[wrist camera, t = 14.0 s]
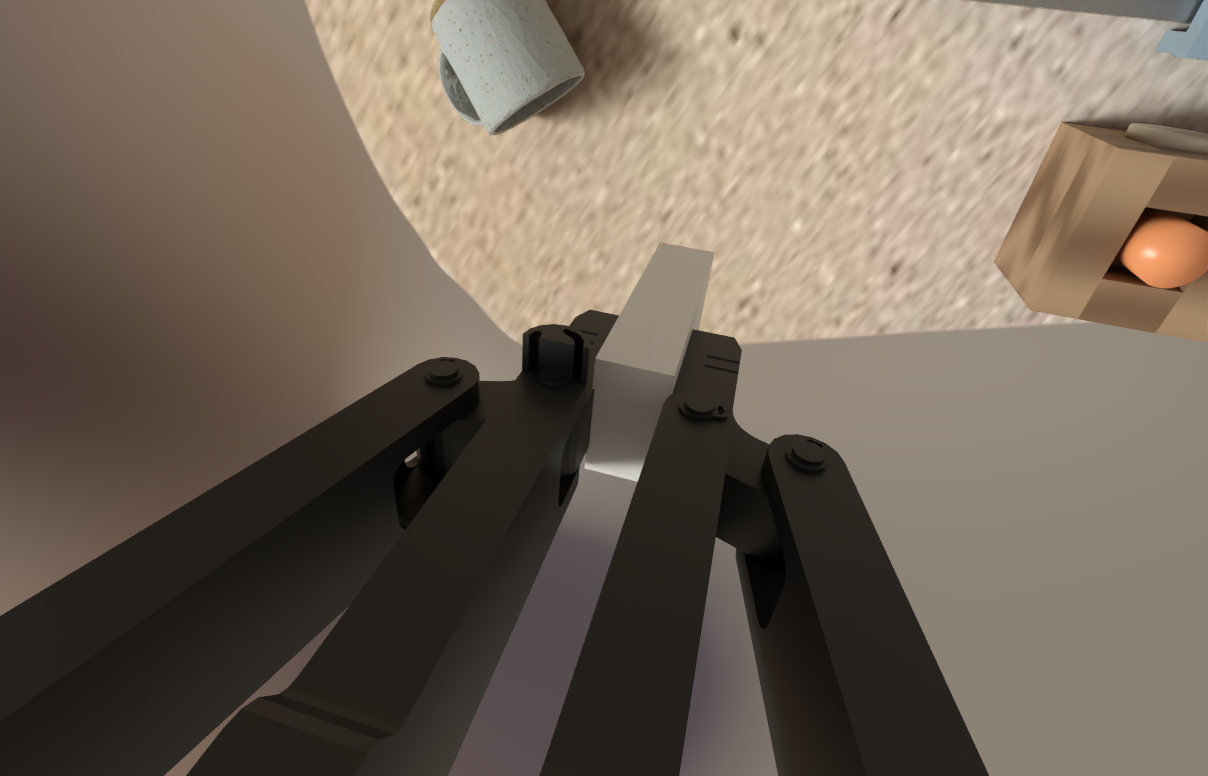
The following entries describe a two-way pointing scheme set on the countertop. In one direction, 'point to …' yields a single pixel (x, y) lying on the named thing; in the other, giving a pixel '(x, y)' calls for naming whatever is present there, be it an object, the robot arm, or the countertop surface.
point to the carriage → (1189, 38)
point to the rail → (1118, 8)
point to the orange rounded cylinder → (1165, 250)
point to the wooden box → (1108, 227)
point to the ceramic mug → (502, 59)
